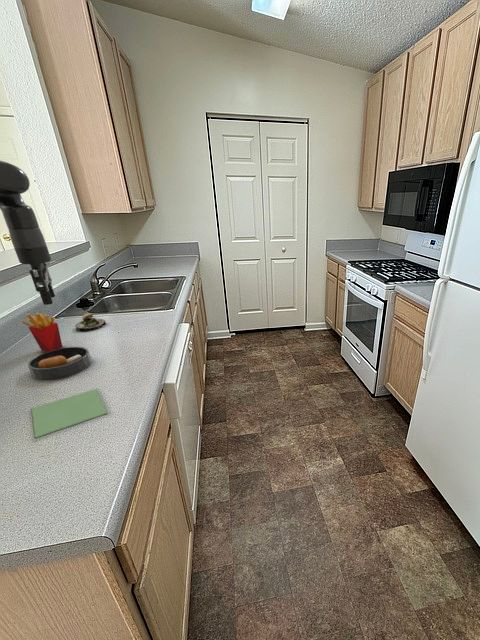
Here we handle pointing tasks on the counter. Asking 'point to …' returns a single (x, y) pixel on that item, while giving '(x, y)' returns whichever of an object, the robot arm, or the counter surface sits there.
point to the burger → (89, 322)
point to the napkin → (67, 412)
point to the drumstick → (57, 361)
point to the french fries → (45, 332)
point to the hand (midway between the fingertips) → (49, 300)
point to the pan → (61, 370)
